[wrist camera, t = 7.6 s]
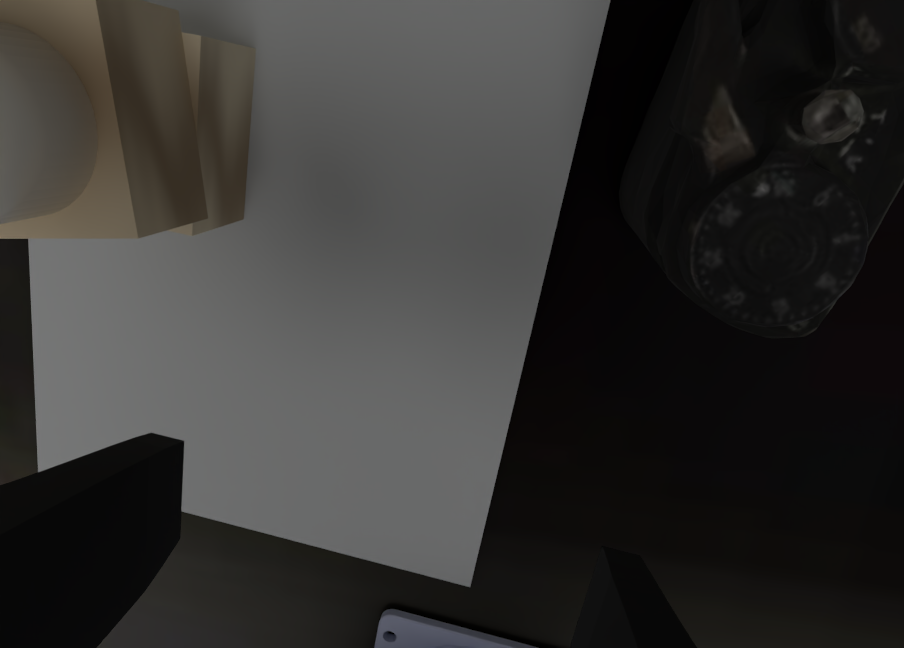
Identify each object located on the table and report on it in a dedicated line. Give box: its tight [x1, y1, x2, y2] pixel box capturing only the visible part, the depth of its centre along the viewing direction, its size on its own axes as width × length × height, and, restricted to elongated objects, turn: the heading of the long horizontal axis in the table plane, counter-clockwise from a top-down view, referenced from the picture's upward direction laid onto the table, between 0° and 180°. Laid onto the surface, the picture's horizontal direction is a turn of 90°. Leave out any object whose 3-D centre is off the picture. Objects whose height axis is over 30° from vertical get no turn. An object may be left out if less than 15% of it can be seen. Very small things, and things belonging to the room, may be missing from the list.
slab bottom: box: [167, 32, 256, 236], centre depth 18 cm, size 5×5×3 cm
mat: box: [28, 0, 610, 587], centre depth 20 cm, size 20×17×1 cm
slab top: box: [0, 0, 208, 239], centre depth 15 cm, size 5×5×3 cm
